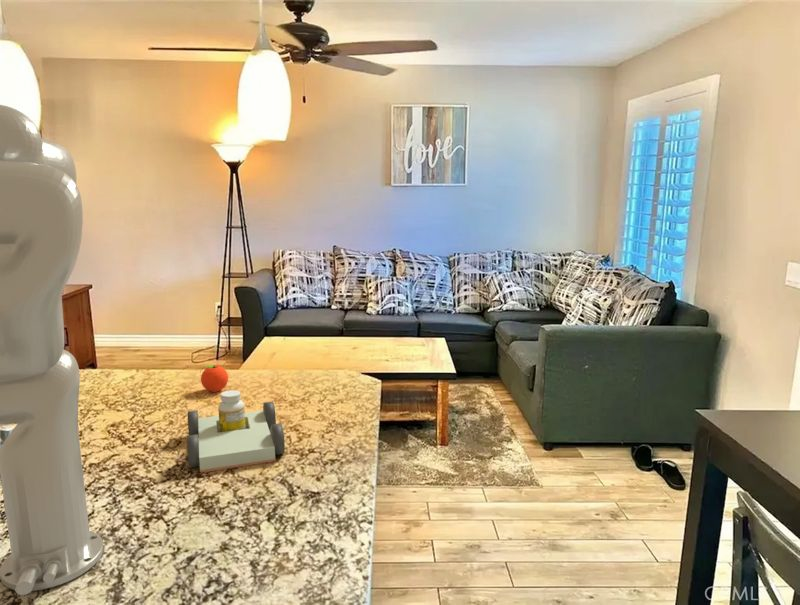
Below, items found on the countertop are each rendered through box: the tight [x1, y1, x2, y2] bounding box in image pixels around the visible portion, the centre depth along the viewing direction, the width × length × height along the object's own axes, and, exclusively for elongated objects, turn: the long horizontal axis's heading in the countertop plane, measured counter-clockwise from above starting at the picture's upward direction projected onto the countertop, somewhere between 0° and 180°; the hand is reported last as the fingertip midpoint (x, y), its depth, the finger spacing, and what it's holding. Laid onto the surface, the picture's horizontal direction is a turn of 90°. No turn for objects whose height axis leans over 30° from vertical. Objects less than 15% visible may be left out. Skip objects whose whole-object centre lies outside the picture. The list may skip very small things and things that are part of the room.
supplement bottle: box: [218, 389, 246, 432], centre depth 121 cm, size 5×5×10 cm
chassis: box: [186, 401, 286, 473], centre depth 118 cm, size 20×18×6 cm
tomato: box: [199, 365, 229, 393], centre depth 150 cm, size 8×7×7 cm
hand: (30, 331), depth 98 cm, fingers open, 9 cm apart
